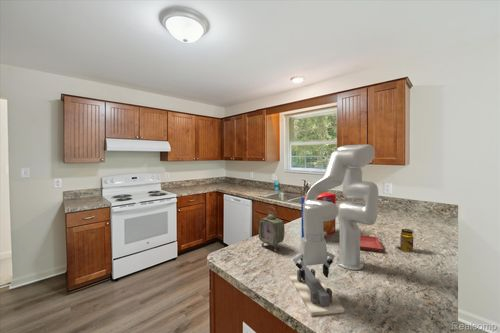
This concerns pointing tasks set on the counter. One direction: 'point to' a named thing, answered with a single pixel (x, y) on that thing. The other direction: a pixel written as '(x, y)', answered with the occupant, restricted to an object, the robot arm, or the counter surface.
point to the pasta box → (327, 225)
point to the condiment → (406, 241)
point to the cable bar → (317, 288)
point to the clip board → (310, 296)
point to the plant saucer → (370, 243)
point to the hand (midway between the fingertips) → (314, 277)
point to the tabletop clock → (271, 229)
